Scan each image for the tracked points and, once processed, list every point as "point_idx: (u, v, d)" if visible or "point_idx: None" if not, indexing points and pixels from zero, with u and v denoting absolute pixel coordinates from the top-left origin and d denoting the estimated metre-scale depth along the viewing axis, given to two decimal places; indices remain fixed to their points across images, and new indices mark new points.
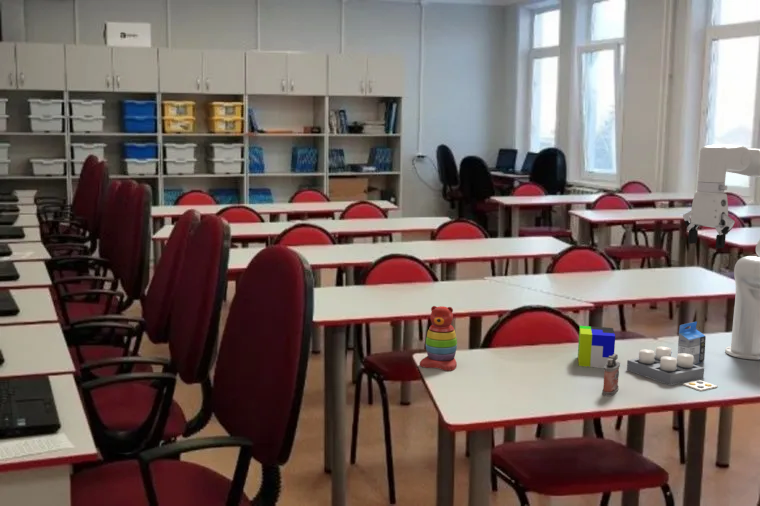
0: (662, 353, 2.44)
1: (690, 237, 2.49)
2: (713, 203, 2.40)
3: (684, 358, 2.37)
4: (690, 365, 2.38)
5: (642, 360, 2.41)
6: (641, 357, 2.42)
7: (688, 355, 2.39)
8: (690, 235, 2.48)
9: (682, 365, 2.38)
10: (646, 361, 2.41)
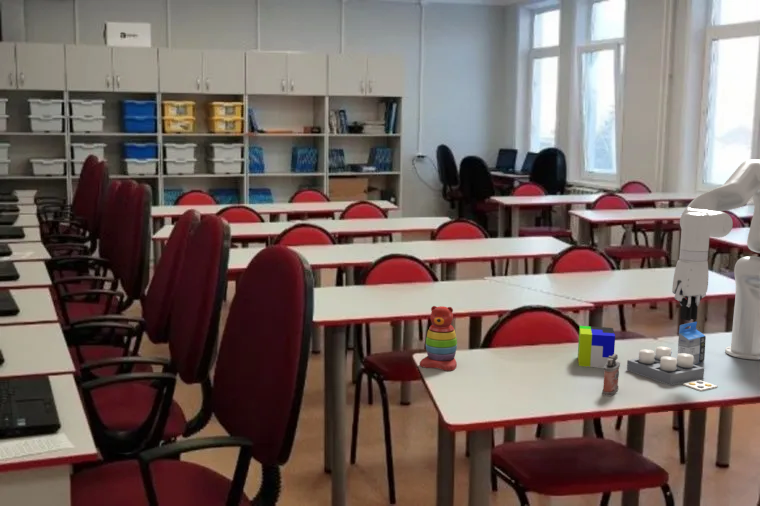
0: (662, 353, 2.44)
1: None
2: (706, 270, 2.35)
3: (684, 358, 2.37)
4: (690, 365, 2.38)
5: (642, 360, 2.41)
6: (641, 357, 2.42)
7: (688, 355, 2.39)
8: (691, 312, 2.35)
9: (682, 365, 2.38)
10: (646, 361, 2.41)
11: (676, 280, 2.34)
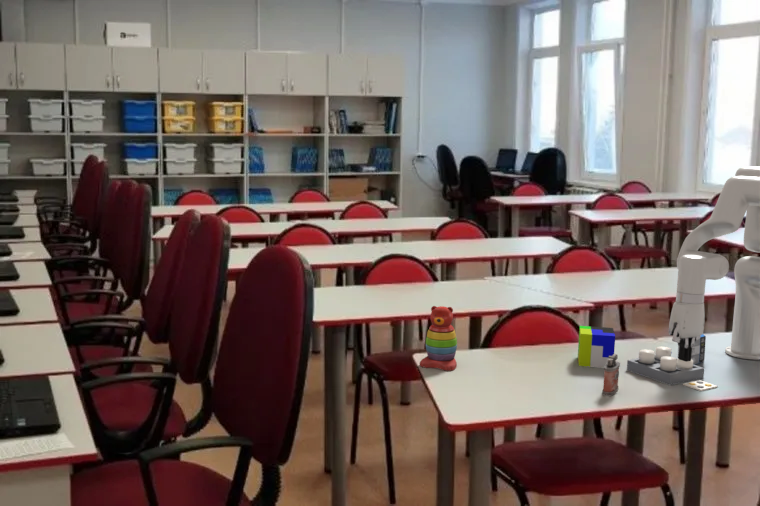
0: (662, 353, 2.44)
1: None
2: (702, 312, 2.37)
3: (683, 362, 2.38)
4: None
5: (642, 360, 2.41)
6: (641, 357, 2.42)
7: None
8: (688, 353, 2.38)
9: None
10: (646, 361, 2.41)
11: (672, 322, 2.36)
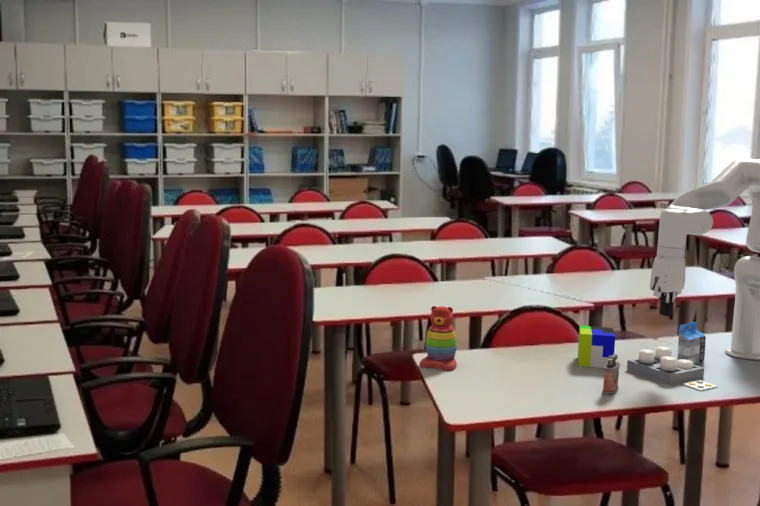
0: (662, 353, 2.44)
1: None
2: (683, 267, 2.37)
3: (683, 364, 2.38)
4: None
5: (642, 360, 2.41)
6: (641, 357, 2.42)
7: (687, 361, 2.40)
8: (669, 308, 2.37)
9: None
10: (646, 361, 2.41)
11: (654, 276, 2.35)
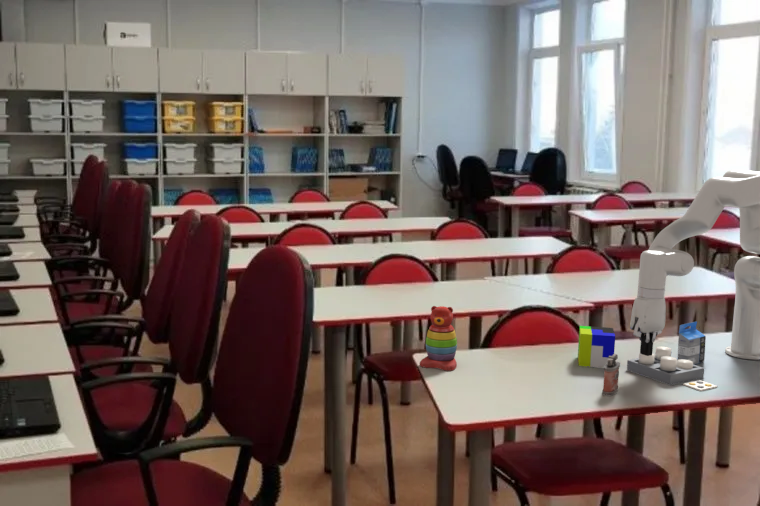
0: (662, 353, 2.44)
1: None
2: (663, 307, 2.40)
3: (683, 364, 2.38)
4: None
5: (642, 363, 2.42)
6: (641, 360, 2.42)
7: (687, 361, 2.40)
8: (649, 347, 2.41)
9: None
10: (646, 364, 2.41)
11: (634, 317, 2.39)
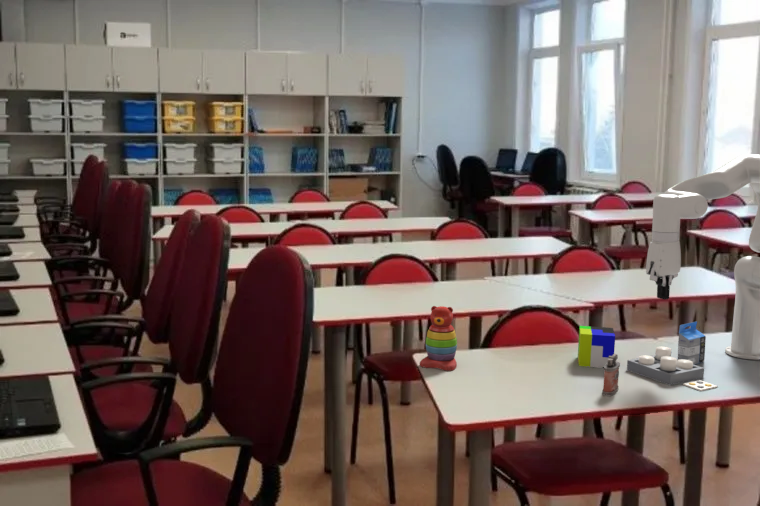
0: (662, 353, 2.44)
1: None
2: (678, 250, 2.41)
3: (683, 364, 2.38)
4: None
5: None
6: (641, 363, 2.42)
7: (687, 361, 2.40)
8: (666, 291, 2.42)
9: None
10: None
11: (649, 261, 2.40)
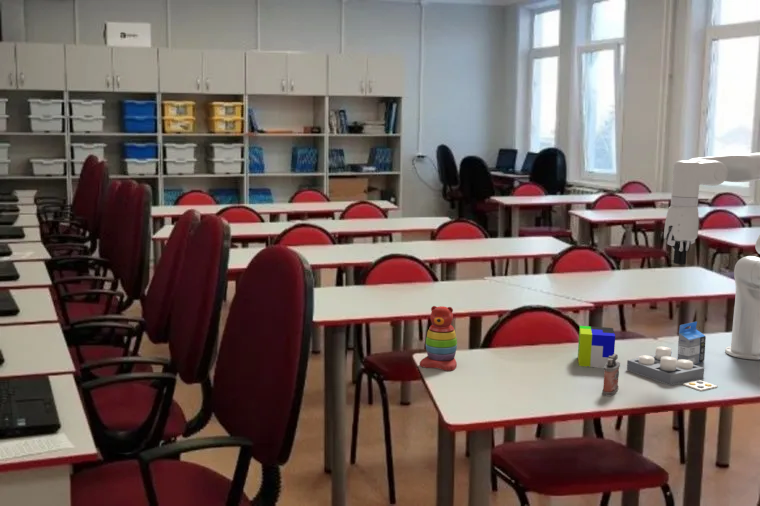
0: (662, 353, 2.44)
1: None
2: (696, 216, 2.44)
3: (683, 364, 2.38)
4: None
5: None
6: (641, 363, 2.42)
7: (687, 361, 2.40)
8: (683, 256, 2.45)
9: None
10: None
11: (667, 226, 2.43)
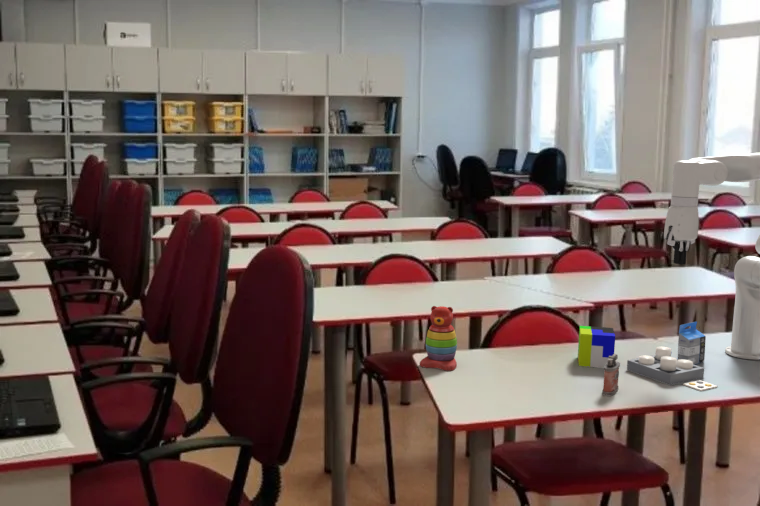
0: (662, 353, 2.44)
1: None
2: (696, 216, 2.44)
3: (683, 364, 2.38)
4: None
5: None
6: (641, 363, 2.42)
7: (687, 361, 2.40)
8: (683, 256, 2.45)
9: None
10: None
11: (667, 226, 2.43)
